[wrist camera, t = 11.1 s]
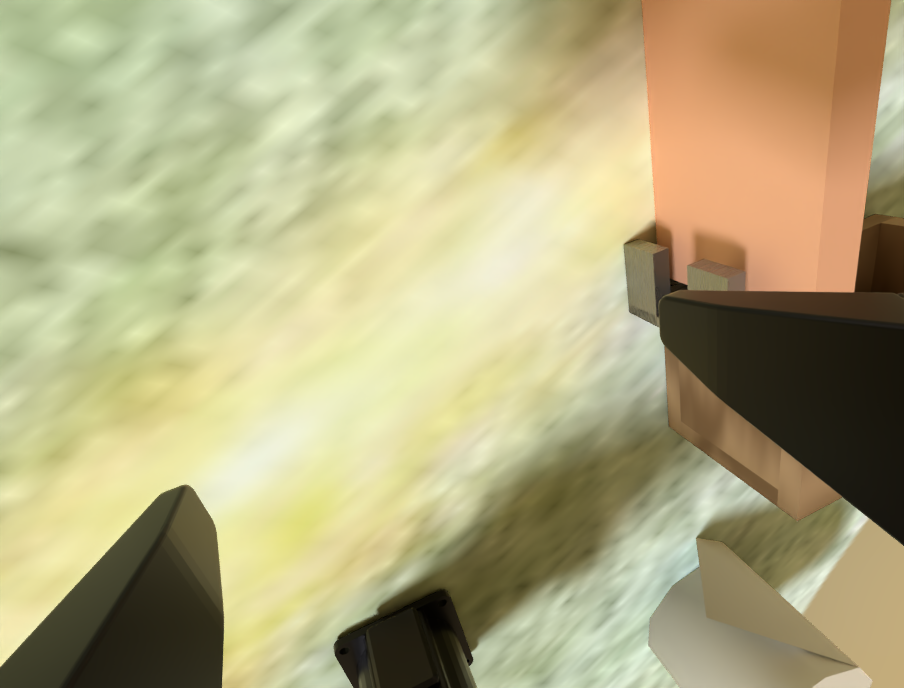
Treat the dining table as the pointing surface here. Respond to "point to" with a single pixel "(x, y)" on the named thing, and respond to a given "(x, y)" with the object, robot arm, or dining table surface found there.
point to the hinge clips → (653, 278)
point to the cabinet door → (764, 134)
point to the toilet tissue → (742, 632)
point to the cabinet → (737, 441)
